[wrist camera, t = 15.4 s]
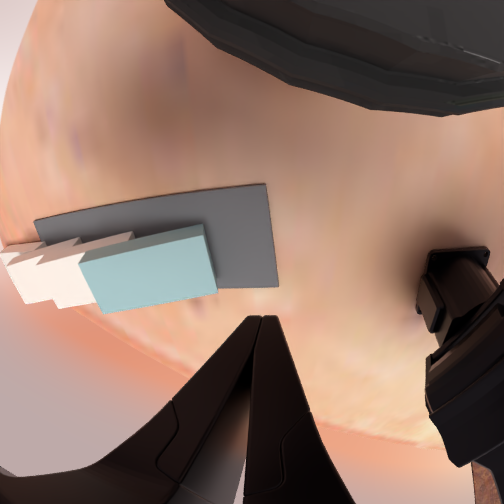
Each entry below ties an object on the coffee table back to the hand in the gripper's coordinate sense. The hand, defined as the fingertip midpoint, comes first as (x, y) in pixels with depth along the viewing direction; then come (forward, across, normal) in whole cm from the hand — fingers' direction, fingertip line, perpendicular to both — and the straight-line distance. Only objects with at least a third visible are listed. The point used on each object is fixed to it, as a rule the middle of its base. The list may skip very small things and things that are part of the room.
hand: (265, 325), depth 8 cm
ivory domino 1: (+12, +19, +5) cm, 23 cm away
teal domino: (+12, +6, +5) cm, 14 cm away
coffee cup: (+13, -4, -11) cm, 18 cm away
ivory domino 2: (+12, +13, +5) cm, 18 cm away
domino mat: (+13, +14, +4) cm, 20 cm away
